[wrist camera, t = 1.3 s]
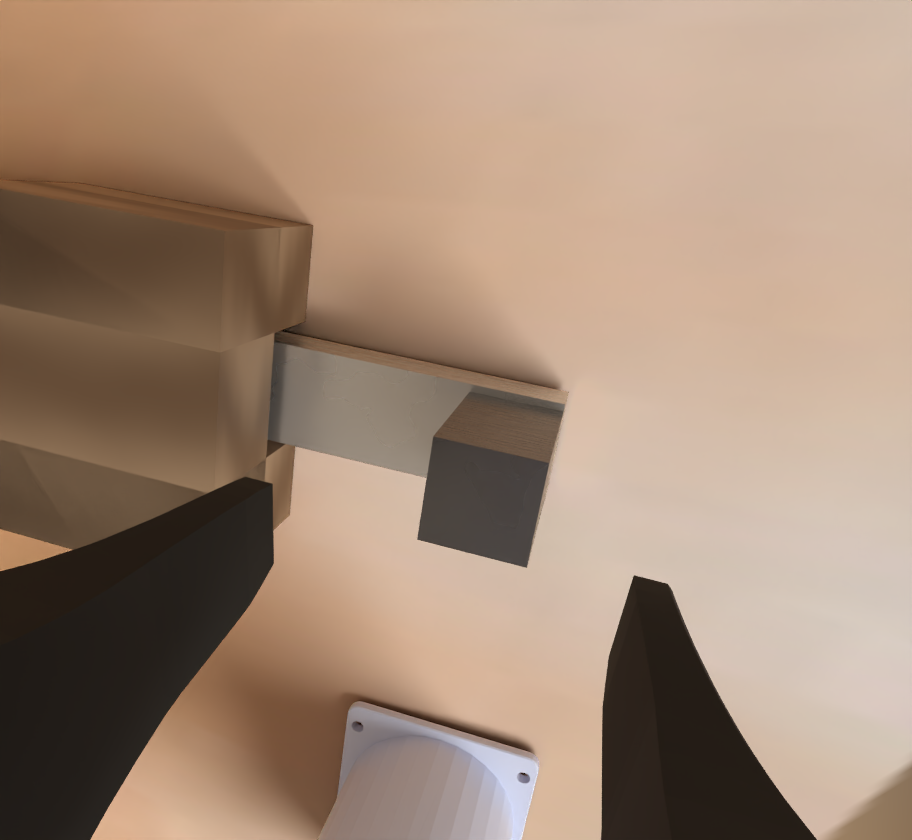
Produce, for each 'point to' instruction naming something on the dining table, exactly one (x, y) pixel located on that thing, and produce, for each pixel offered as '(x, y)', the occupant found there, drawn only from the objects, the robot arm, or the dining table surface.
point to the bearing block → (137, 355)
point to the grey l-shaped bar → (426, 435)
